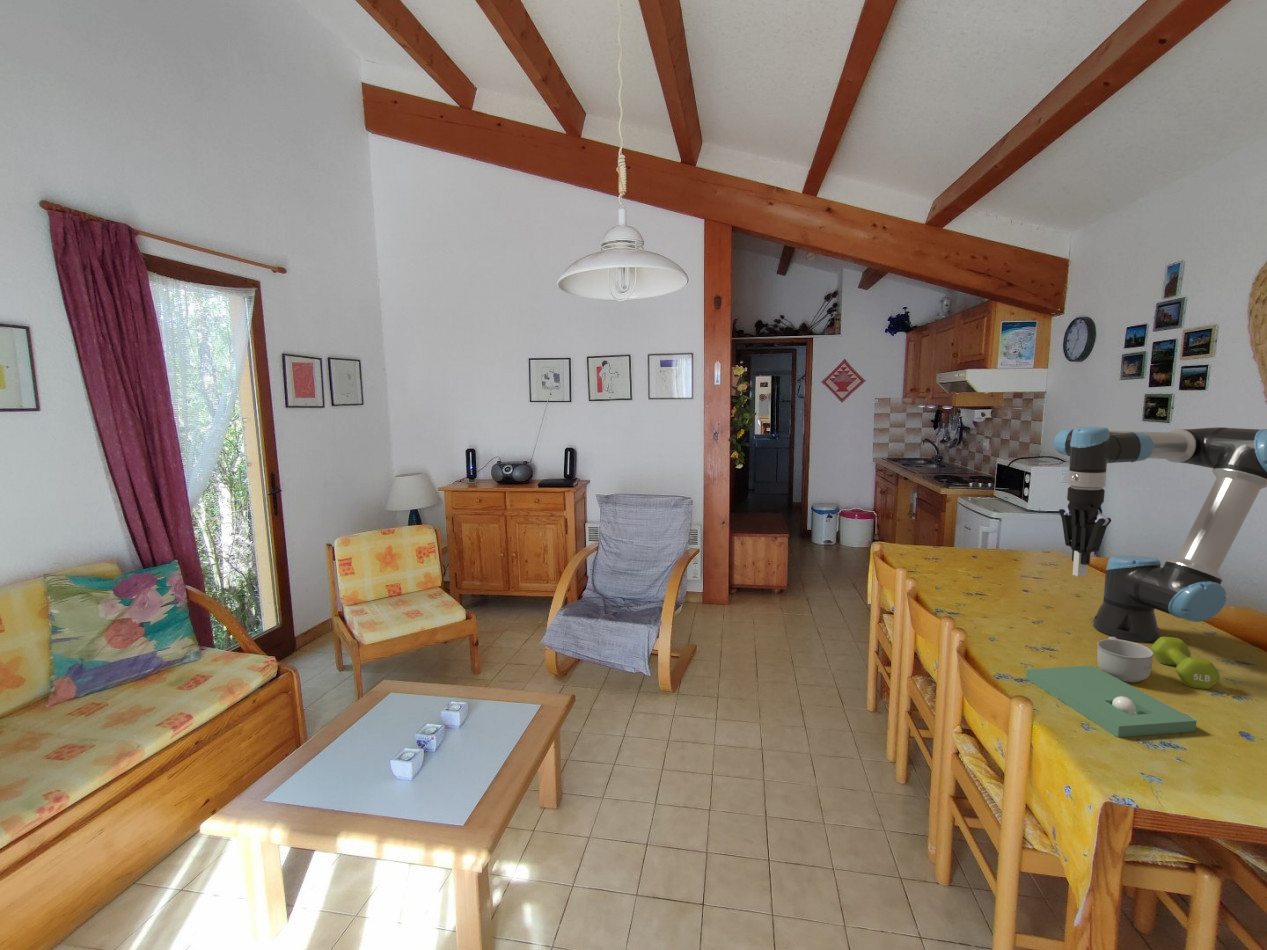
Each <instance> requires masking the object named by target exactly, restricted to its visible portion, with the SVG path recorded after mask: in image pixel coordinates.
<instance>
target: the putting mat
mask: <svg viewBox="0 0 1267 950" xmlns="http://www.w3.org/2000/svg"><path fill="white" fill-rule="evenodd" d="M1025 677H1026V680H1027V681H1028V682H1031V683H1033V684H1034V685H1035V686H1036V687H1039V688H1040V689H1041V690H1043V689H1044V690H1043V691H1045V692H1046V691H1047V693H1048V692H1049V693H1050V694H1049V693H1048V694H1049V695H1051V694H1052V695H1053V697H1054V696H1055V697H1054V698H1056V697H1057V698H1058V699H1057V698H1056V699H1057V700H1059V699H1060V700H1061V701H1060V700H1059V701H1060V702H1062V701H1063V702H1064V704H1065V705H1066V704H1067V706H1068V707H1070V708H1071V709H1073V710H1074V711H1075V712H1077V713H1079V714H1080V715H1082V716H1083V717H1086V718H1087V719H1088V720H1090V721H1091V722H1093V723H1094V724H1096V725H1098V726H1099V727H1101V728H1102V729H1104V730H1105V731H1107V732H1109V733H1110V734H1111V735H1113V736H1114V737H1116V738H1125V737H1141V736H1142V737H1143V736H1152V735H1155V736H1156V735H1168V734H1169V735H1170V734H1181V733H1182V734H1183V733H1194V732H1196V728H1197V723H1198V722H1197V720H1196V719H1194V718H1192V717H1191V716H1188V715H1187V714H1185V713H1183V712H1181V711H1179V710H1177V709H1176V708H1174V707H1171V706H1170V705H1168V704H1166V703H1164V702H1162V701H1160V700H1158V699H1157V698H1155V697H1153V696H1151V695H1149V694H1148V693H1145V692H1144V691H1141V690H1139V689H1138V688H1136V687H1134V686H1132V685H1131V684H1129V683H1128V682H1124V681H1121V680H1119V679H1117V678H1115V677H1114V676H1112V675H1110V674H1108V673H1106V672H1104V671H1102V670H1101V669H1100V667H1096V666H1095V665H1076V666H1075V665H1073V666H1059V667H1057V666H1056V667H1045V668H1044V667H1043V668H1029V669H1028V668H1027V669H1026V676H1025ZM1052 695H1051V696H1052ZM1120 696H1123V697H1127V698H1129V699H1130V700H1132V701H1133V703H1134V704H1135V707H1136V710H1135V712H1134V713H1133V714H1132V715H1128V714H1126V713H1125V712H1123V711H1121V710H1120V709H1118V708H1116V707H1115V706H1113V705H1112V701H1113V700H1114V699H1115V698H1116V697H1120ZM1063 702H1062V703H1063Z"/></svg>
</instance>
